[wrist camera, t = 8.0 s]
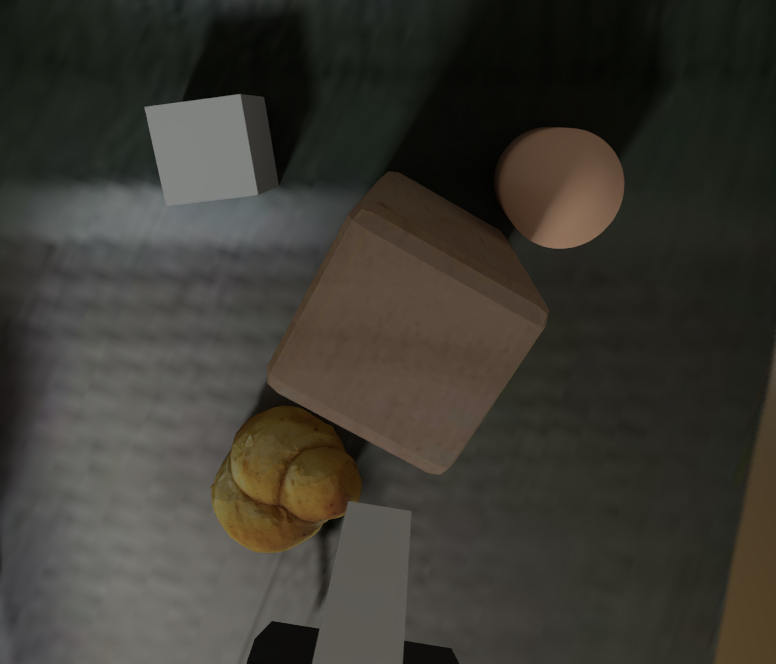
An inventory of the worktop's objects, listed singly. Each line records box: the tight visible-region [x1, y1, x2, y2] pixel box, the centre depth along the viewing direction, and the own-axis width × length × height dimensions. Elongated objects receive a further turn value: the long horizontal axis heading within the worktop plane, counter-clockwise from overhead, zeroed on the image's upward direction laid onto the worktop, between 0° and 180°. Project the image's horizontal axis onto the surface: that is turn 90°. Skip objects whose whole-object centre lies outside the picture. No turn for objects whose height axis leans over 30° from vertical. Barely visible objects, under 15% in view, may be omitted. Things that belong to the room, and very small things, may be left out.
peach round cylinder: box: [494, 127, 624, 249], centre depth 43 cm, size 7×7×7 cm
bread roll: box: [210, 405, 362, 553], centre depth 51 cm, size 13×10×8 cm
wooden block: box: [267, 171, 549, 475], centre depth 39 cm, size 10×10×20 cm
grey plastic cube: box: [145, 94, 279, 206], centre depth 44 cm, size 6×6×6 cm
